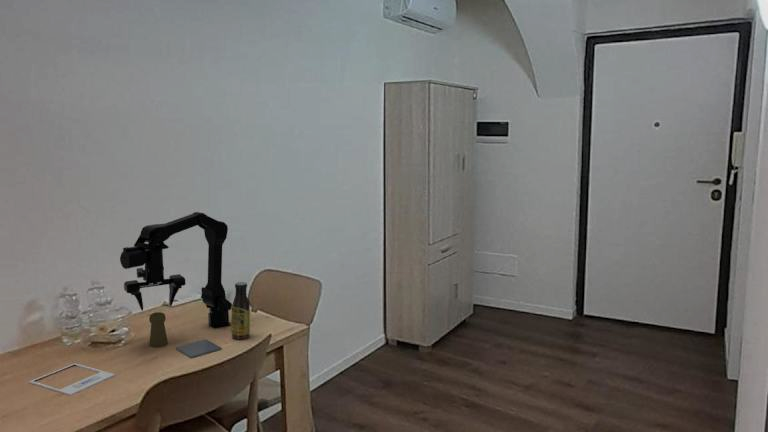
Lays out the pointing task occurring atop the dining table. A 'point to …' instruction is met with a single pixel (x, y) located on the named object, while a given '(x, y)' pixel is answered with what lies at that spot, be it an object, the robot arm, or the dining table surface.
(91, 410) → the dining table surface
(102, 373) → the photo frame
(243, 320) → the sauce bottle
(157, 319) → the dark olive bulbous piece
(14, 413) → the dining table surface
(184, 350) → the slate coaster
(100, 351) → the dining table surface
